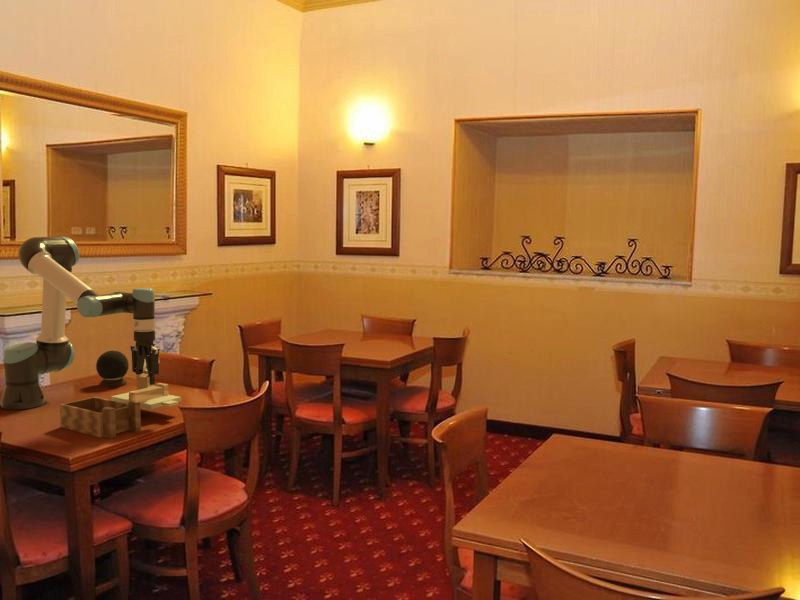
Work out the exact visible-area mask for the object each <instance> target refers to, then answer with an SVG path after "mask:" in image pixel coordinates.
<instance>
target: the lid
mask: <svg viewBox="0 0 800 600" xmlns="http://www.w3.org/2000/svg"><path fill="white" fill-rule="evenodd" d="M142 374H143V375H138V376H137V375H136V390H140V389H144V388H147V375H148V373H142ZM154 386H156V383H155V384H154ZM129 392H130V391H129ZM129 392H125V393H121V394H117V395H111V396H110V400H113V401H118V402H122V403H127V404H128V402H129ZM179 402H182V396H177V395H172V394H168V396H163V397H159V398H155V399H151V400H147V401H142V402H140V408H145V409H151V410H152V409H156V408H161V407H164V406H165V407H169V408H170V407H173V406H177V405H179Z"/></svg>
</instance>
